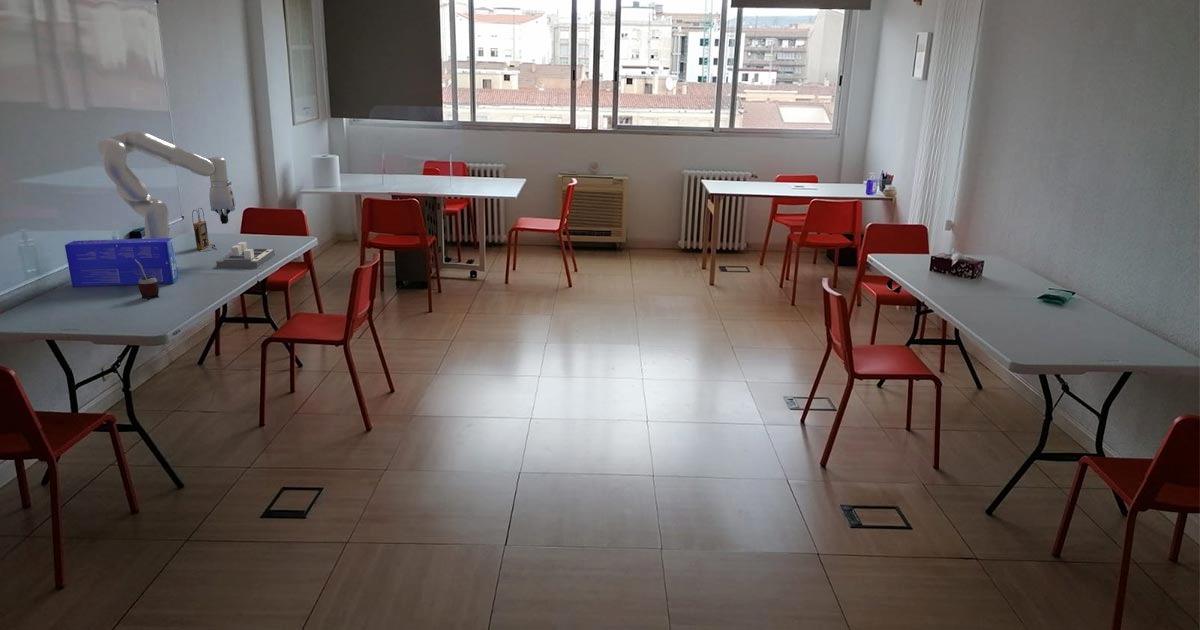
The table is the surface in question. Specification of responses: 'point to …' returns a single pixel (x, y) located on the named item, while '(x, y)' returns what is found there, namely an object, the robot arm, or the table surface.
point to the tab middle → (236, 250)
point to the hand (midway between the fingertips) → (224, 223)
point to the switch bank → (240, 262)
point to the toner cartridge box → (121, 261)
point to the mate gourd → (148, 286)
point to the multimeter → (201, 233)
